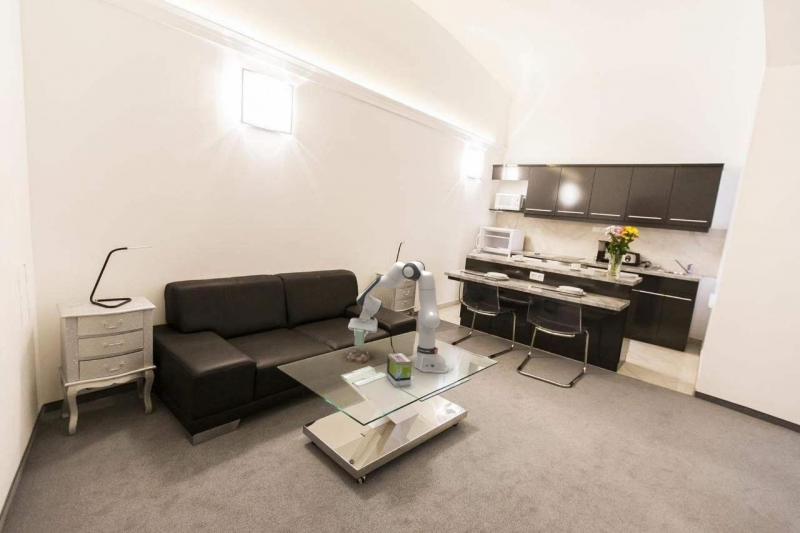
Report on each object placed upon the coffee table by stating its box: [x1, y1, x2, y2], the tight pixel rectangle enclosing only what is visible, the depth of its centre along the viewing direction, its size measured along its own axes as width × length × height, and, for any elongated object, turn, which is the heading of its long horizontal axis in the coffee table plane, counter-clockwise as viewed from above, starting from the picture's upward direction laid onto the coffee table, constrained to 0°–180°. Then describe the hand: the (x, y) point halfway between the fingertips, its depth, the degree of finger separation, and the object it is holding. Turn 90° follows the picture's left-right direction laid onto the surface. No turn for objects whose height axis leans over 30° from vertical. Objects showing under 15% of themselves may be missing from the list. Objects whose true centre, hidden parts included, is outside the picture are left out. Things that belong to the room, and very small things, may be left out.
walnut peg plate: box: [344, 348, 372, 364], centre depth 247 cm, size 14×12×5 cm
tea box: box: [386, 352, 413, 388], centre depth 214 cm, size 15×10×15 cm, turn 22°
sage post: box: [353, 329, 366, 347], centre depth 246 cm, size 5×5×10 cm
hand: (359, 336), depth 245 cm, fingers closed on sage post, 5 cm apart
